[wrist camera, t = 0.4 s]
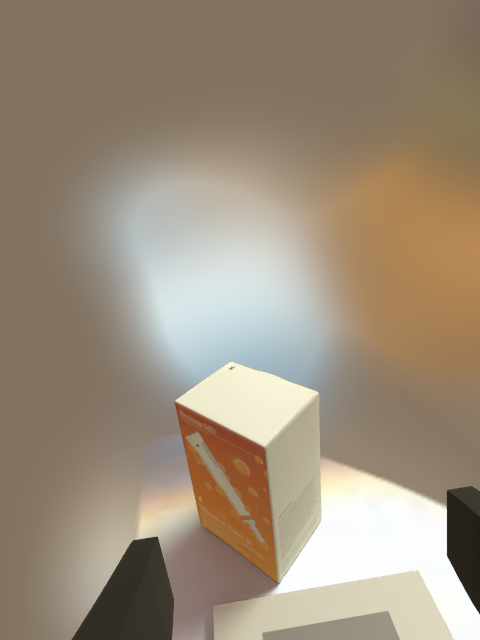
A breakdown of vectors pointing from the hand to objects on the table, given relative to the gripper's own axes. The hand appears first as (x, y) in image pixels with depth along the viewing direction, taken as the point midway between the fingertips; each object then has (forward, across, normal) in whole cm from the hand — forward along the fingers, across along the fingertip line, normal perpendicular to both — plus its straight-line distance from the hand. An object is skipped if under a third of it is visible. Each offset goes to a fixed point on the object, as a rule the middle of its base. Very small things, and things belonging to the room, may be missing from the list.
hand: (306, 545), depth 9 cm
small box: (+18, +2, +17) cm, 25 cm away
